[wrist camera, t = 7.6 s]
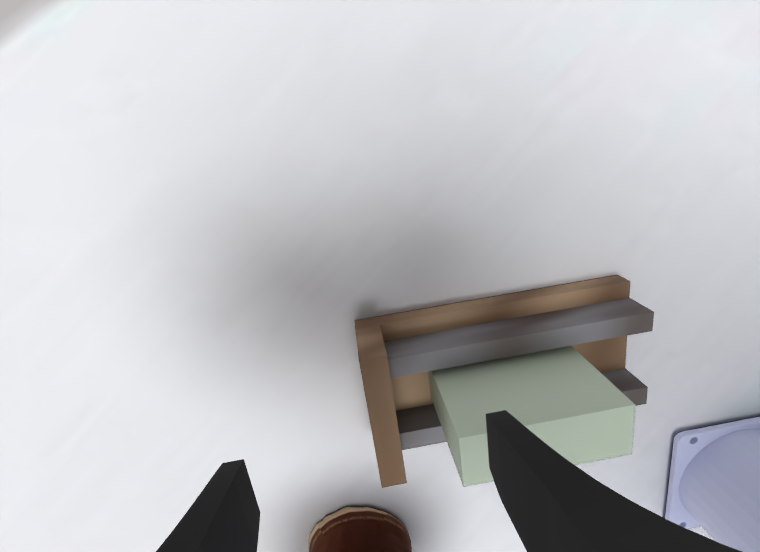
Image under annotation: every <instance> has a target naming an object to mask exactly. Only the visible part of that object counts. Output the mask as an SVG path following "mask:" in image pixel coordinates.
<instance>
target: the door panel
mask: <svg viewBox="0 0 760 552" xmlns="http://www.w3.org/2000/svg"><path fill="white" fill-rule="evenodd" d="M428 376H429V384H430V393H431V399H432V402H433V404H434V407H435V410H436V413H437V415H438V418H439V421H440V423H441V426H442V429H443V432H444V434H445V437H446V440H447V443H448V445H449V448H450V451H451V454H452V456H453V459H454V462H455V465H456V467H457V470H458V473H459V476H460V478H461V481H462V484H463V487H466V486H471V485H476V484H481V483H486V482H491V481H494V479H493V477H492V474H491V471H490V468H489V456H488V442H487V427H486V414H487V413H493V412H498V411H503V410H506V411H507V412H509V413H510V414H511V415H512V416H514V417H515V418H516V419H517V420H518V421H519V422H521V423H522V424H523V425H524V426H525V427H526V428H528V429H529V430H530V431H531V432H532V433H534V434H535V435H536V436H537V437H538V438H540V439H541V440H542V441H543V442H545V443H546V444H547V445H548V446H550V447H551V448H552V449H554V450H555V451H556V452H558V453H559V454H560V455H561V456H563V457H564V458H565V459H567V460H568V461H569V462H571V463H572V464H574V465H578V464H583V463H588V462H593V461H598V460H603V459H608V458H613V457H618V456H624V455H629V454H632V445H633V431H634V417H635V404H634V403H633V402H632V401H631V400H630V399H629V398H628V397H626V396H625V395H624V394H623V393H622V392H621V391H620V390H619V389H618V388H617V387H616V386H614V385H613V384H612V383H611V382H610V381H609V380H608V379H607V378H606V377H605V376H604V375H603V374H601V373H600V372H599V371H598V370H597V369H596V368H595V367H594V366H593V365H592V364H591V363H589V362H588V361H587V360H586V359H585V358H584V357H583V356H582V355H581V354H580V353H579V352H578V351H576V350H575V349H574V348H573V347H572V346H566V347H560V348H555V349H549V350H544V351H538V352H533V353H527V354H522V355H516V356H511V357H505V358H499V359H494V360H488V361H483V362H477V363H472V364H466V365H461V366H455V367H450V368H444V369H439V370H433V371H428Z"/></svg>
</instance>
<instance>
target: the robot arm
mask: <svg viewBox="0 0 760 552" xmlns="http://www.w3.org/2000/svg"><path fill="white" fill-rule="evenodd" d="M486 427H487V442H488V456H489V468H490V471H491V474H492V477H493V479H494V482H495V485H496V487H497V490H498V493H499V495H500V498H501V500H502V503H503V505H504V507H505V509H506V511H507V513H508V515H509V517H510V519H511V521H512V523H513V525H514V527H515V529H516V531H517V533H518V535H519V537H520V538H521V540H522V542H523V544H524V546H525V548H526V550H527V552H760V417H755V418H750V419H745V420H740V421H735V422H730V423H724V424H719V425H714V426H709V427H704V428H699V429H694V430H688V431H683V432H680V433H678V434H677V435H676V436H675V438H674V443H673V452H672V461H671V470H670V478H669V487H668V496H667V505H666V514H665V518H663V517H661V516H659V515H657V514H655V513H653V512H651V511H649V510H647V509H645V508H643V507H641V506H639V505H638V504H636V503H634V502H632V501H630V500H629V499H627V498H625V497H623V496H622V495H620V494H618V493H617V492H615V491H613V490H612V489H610V488H608V487H607V486H605V485H603V484H602V483H600V482H598V481H597V480H595V479H594V478H592V477H591V476H589V475H588V474H586V473H585V472H584V471H582V470H581V469H579V468H578V467H576V466H575V465H574V464H572V463H571V462H569V461H568V460H567V459H565V458H564V457H563V456H561V455H560V454H559V453H558V452H556V451H555V450H554V449H552V448H551V447H550V446H548V445H547V444H546V443H545V442H543V441H542V440H541V439H540V438H538V437H537V436H536V435H535V434H534V433H532V432H531V431H530V430H529V429H528V428H526V427H525V426H524V425H523V424H522V423H521V422H519V421H518V420H517V419H516V418H515V417H514V416H512V415H511V414H510V413H509V412H507V411H506V410H503V411H498V412H493V413H487V414H486ZM259 521H260V510H259V507H258V504H257V501H256V497H255V494H254V491H253V488H252V485H251V481H250V478H249V475H248V472H247V469H246V465H245V462H244V459H243V460H237V461H232V462H227V463H222V465H221V466H220V467H219V469H218V470H217V471H216V473H215V474H214V475H213V477H212V478H211V480H210V481H209V482H208V484H207V485H206V487H205V488H204V489H203V491H202V492H201V494H200V495H199V496H198V498H197V499H196V501H195V502H194V503H193V505H192V506H191V507H190V509H189V510H188V511H187V513H186V514H185V515H184V517H183V518H182V519H181V521H180V522H179V523H178V525H177V526H176V527H175V529H174V530H173V531H172V533H171V534H170V535H169V536H168V538H167V539H166V540H165V541H164V543H163V544H162V545H161V546H160V547H159V549H158V550H157V551H156V552H257V543H258V533H259ZM700 526H702V527H703V529H704V530H705V531H706V532H707V533H708V534H709V535H710V536H711V537H712V538H713V539H714V540H715V541H714V540H711V539H709V538H707V537H704V536H702V535H700V534H697V533H695V532H693V531H690V530H688V529H690V528H695V527H700Z"/></svg>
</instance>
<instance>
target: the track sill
mask: <svg viewBox="0 0 760 552" xmlns="http://www.w3.org/2000/svg"><path fill="white" fill-rule="evenodd" d="M629 293H630V281H629V280H627V279H625V278H623V277H621V276H619V275H615V276H609V277H603V278H597V279H592V280H586V281H580V282H574V283H569V284H563V285H557V286H551V287H546V288H540V289H534V290H528V291H523V292H517V293H511V294H505V295H499V296H494V297H488V298H482V299H476V300H471V301H465V302H459V303H453V304H448V305H442V306H436V307H430V308H425V309H419V310H413V311H407V312H401V313H396V314H390V315H384V316H378V317H373V318H367V319H361V320H355V329H356V337H357V346H358V354H359V362H360V368H361V373H362V379H363V384H364V390H365V396H366V401H367V407H368V412H369V418H370V423H371V429H372V434H373V440H374V446H375V451H376V457H377V462H378V468H379V473H380V479H381V485H382V488H383V487H388V486H394V485H399V484H404V483H407V481H406V475H405V468H404V462H403V455H402V450H405V449H410V448H415V447H421V446H426V445H431V444H436V443H442V442H447V440H446V437H445V434H444V432H443V429H442V426H441V423H440V421H439V418H438V415H437V413H436V410H435V407H434V404H433V402H432V399H431V393H430V384H429V376H428V371H433V370H439V369H444V368H450V367H455V366H461V365H466V364H472V363H477V362H483V361H488V360H494V359H499V358H505V357H511V356H516V355H522V354H527V353H533V352H538V351H544V350H549V349H555V348H560V347H566V346H572V347H573V348H574V349H575V350H576V351H578V352H579V353H580V354H581V355H582V356H583V357H584V358H585V359H586V360H587V361H588V362H589V363H591V364H592V365H593V366H594V367H595V368H596V369H597V370H598V371H599V372H600V373H601V374H603V375H604V376H605V377H606V378H607V379H608V380H609V381H610V382H611V383H612V384H613V385H614V386H616V387H617V388H618V389H619V390H620V391H621V392H622V393H623V394H624V395H625V396H626V397H628V398H629V399H630V400H631V401H632V402H633V403H634V404H635V406H636V405H642V404H646V400H647V388H648V387H647V386H646V385H644V384H643V383H642V382H641V381H640V380H638V379H637V378H636V377H635V376H634V375H632V374H631V373H630V372H629V371H628V370H626V369H625V359H626V342H627V335H632V334H637V333H643V332H649V331H652V328H653V316H654V312H653V311H651V310H650V309H648V308H646V307H644V306H643V305H641V304H639V303H637V302H636V301H634V300H632V299H631V298H629Z"/></svg>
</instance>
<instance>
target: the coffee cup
mask: <svg viewBox="0 0 760 552" xmlns="http://www.w3.org/2000/svg"><path fill="white" fill-rule="evenodd" d="M309 552H412V551H411V540H410V538H409V535H408V531H407V529H406V527H405V526H404V524H403V523H402V522H400V521H399V520H398V519H397V518H395V517H394V516H392V515H390V514H388V513H387V512H383V511H380V510H376V509H373V508H370V507H362V508H357V507H346V508H343V509H341V510H339V511H337V512H336V513H334V514H331V515H328V516H326V517H324V519H323V520H322V522H319V523H317V524H316V525H315V528H314V529H313V531H312V532H311V534H310V538H309Z"/></svg>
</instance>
